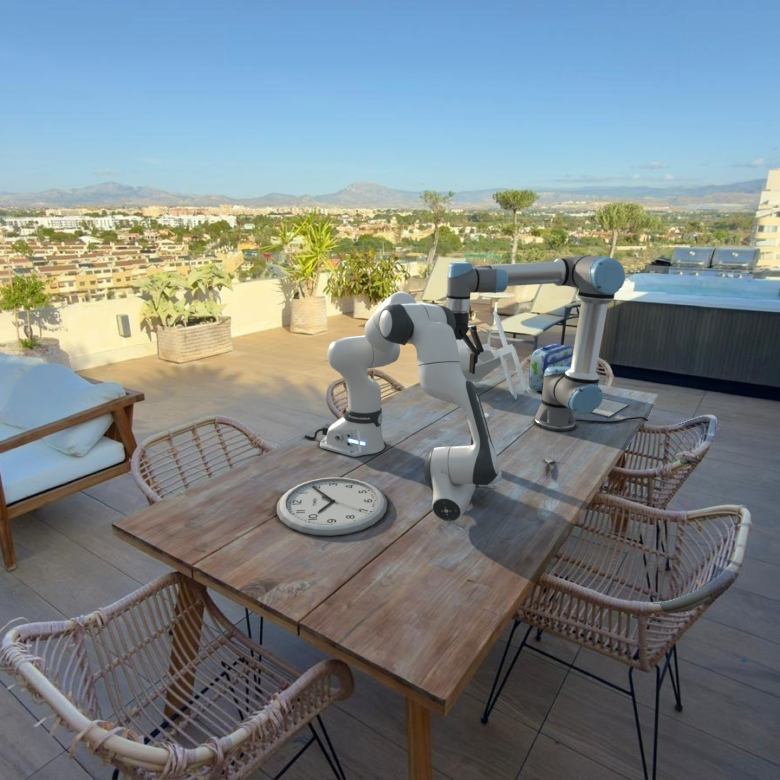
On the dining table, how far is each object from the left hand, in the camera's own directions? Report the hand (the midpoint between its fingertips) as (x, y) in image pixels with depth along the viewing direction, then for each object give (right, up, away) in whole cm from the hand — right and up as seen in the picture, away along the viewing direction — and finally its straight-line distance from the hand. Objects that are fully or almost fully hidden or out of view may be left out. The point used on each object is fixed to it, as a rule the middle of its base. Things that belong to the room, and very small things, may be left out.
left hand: (470, 462), depth 156 cm
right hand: (-2, +27, +20) cm, 33 cm away
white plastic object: (+18, +20, +88) cm, 92 cm away
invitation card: (+68, +14, +71) cm, 99 cm away
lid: (+4, +14, +8) cm, 16 cm away
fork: (+27, -3, +13) cm, 30 cm away
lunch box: (+52, +22, +95) cm, 111 cm away
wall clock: (-40, -10, -13) cm, 43 cm away
